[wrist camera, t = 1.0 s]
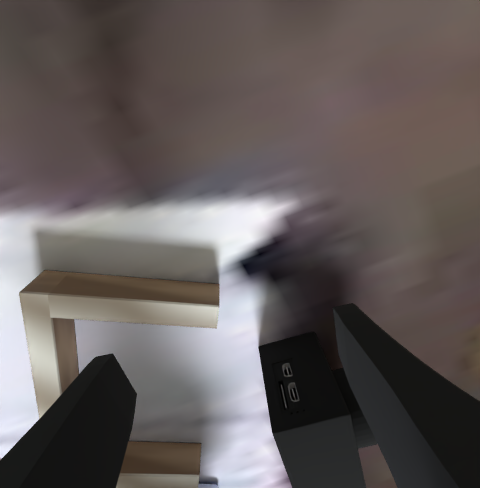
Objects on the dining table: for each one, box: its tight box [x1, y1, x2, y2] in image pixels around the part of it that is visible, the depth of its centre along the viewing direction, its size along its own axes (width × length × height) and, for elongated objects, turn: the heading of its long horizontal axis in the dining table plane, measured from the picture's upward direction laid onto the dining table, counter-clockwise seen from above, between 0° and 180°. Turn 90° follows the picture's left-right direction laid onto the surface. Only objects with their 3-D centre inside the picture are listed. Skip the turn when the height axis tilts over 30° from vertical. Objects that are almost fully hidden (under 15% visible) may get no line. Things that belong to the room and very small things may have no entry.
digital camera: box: [259, 332, 377, 488], centre depth 22 cm, size 10×5×7 cm, turn 16°
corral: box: [19, 270, 219, 488], centre depth 22 cm, size 17×11×3 cm, turn 173°
